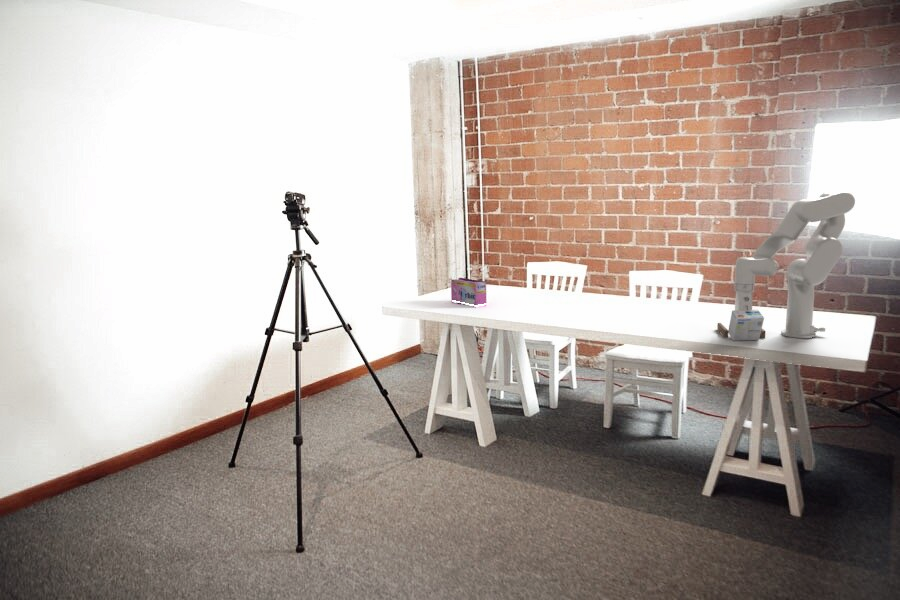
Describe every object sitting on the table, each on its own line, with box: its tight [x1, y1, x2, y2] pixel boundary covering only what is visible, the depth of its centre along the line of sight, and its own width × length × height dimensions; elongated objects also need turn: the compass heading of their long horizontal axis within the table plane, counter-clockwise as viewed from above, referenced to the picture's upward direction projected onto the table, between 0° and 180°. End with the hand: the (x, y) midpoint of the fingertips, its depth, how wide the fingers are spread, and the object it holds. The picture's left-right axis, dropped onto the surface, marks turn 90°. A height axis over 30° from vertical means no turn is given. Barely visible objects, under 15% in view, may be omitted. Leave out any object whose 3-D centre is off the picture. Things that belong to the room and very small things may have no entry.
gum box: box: [450, 277, 487, 305], centre depth 357 cm, size 24×8×14 cm, turn 37°
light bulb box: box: [727, 309, 765, 342], centre depth 259 cm, size 11×7×11 cm, turn 88°
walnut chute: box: [716, 322, 766, 339], centre depth 270 cm, size 15×15×3 cm
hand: (741, 331), depth 266 cm, fingers closed
